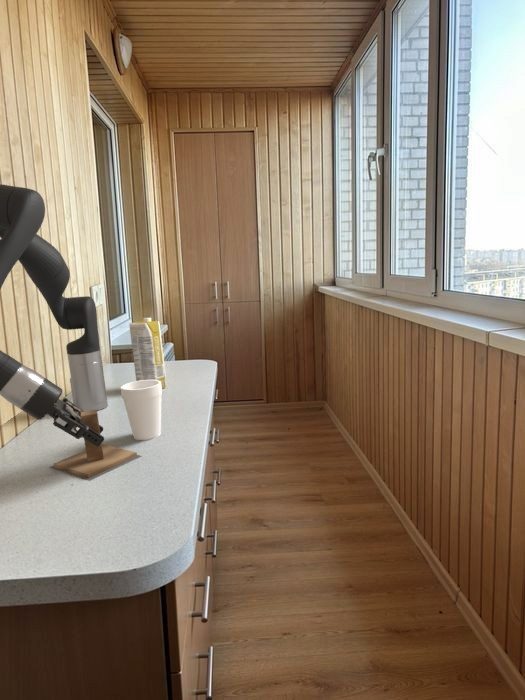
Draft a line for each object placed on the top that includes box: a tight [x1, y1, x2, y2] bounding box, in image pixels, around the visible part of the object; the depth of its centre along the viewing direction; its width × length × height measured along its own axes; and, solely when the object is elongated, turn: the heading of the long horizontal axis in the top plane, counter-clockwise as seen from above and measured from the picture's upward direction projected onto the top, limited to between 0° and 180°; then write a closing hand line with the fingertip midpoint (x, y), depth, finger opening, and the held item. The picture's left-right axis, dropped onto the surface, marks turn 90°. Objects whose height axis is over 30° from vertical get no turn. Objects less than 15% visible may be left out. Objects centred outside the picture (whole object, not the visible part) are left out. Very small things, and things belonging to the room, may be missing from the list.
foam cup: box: [120, 380, 163, 441], centre depth 115 cm, size 10×9×13 cm
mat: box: [49, 454, 142, 482], centre depth 103 cm, size 14×13×1 cm
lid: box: [53, 410, 138, 478], centre depth 102 cm, size 12×12×11 cm
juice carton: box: [128, 317, 168, 390], centre depth 161 cm, size 9×8×24 cm
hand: (101, 437), depth 102 cm, fingers open, 6 cm apart
